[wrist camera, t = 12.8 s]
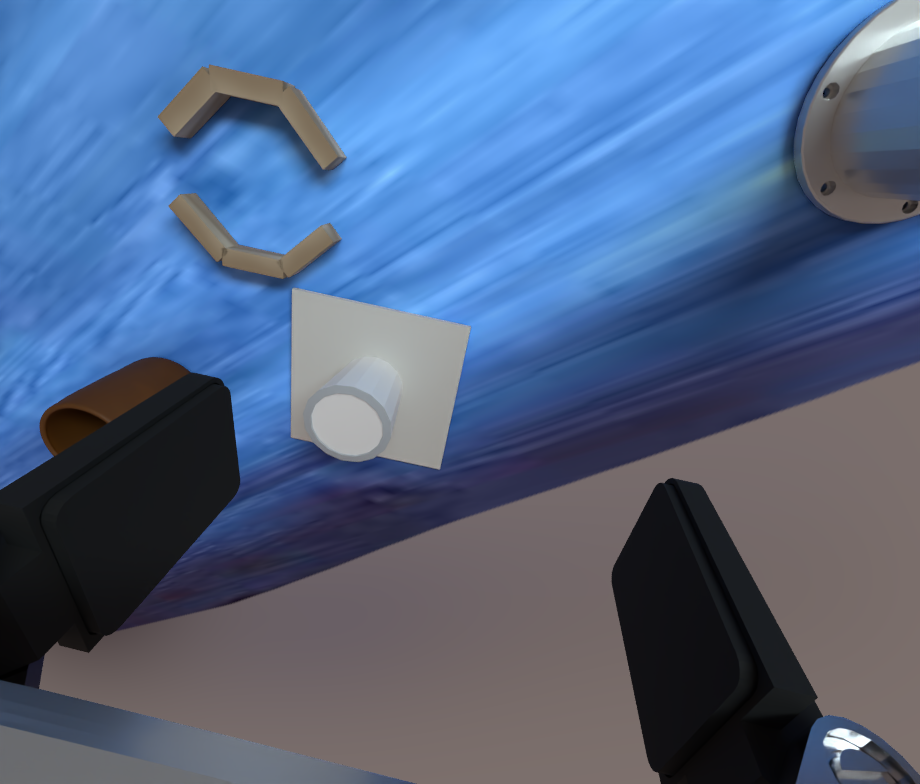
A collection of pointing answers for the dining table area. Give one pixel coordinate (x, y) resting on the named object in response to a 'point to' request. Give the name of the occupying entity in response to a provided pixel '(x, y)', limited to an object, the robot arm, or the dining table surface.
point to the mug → (105, 401)
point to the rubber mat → (393, 340)
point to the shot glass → (355, 410)
